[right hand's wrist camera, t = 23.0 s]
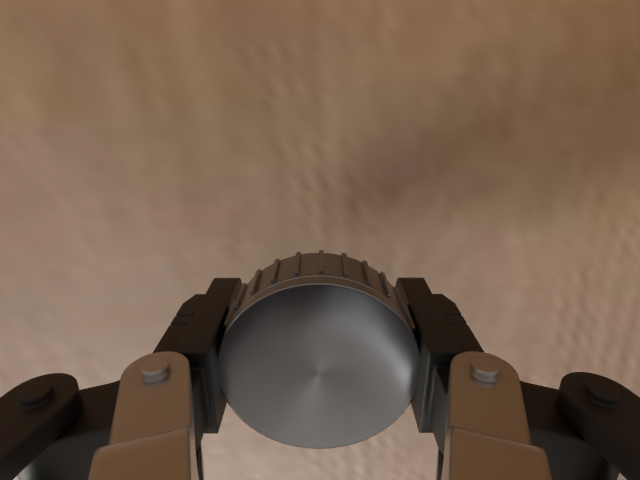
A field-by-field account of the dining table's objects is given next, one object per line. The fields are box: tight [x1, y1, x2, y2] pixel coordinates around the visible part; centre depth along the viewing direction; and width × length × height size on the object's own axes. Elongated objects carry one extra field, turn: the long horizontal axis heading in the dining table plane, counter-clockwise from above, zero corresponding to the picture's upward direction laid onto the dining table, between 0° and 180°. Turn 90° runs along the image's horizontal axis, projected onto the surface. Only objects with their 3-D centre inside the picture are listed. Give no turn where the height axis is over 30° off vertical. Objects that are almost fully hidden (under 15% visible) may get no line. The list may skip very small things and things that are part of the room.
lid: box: [218, 250, 420, 449], centre depth 10 cm, size 5×5×2 cm
